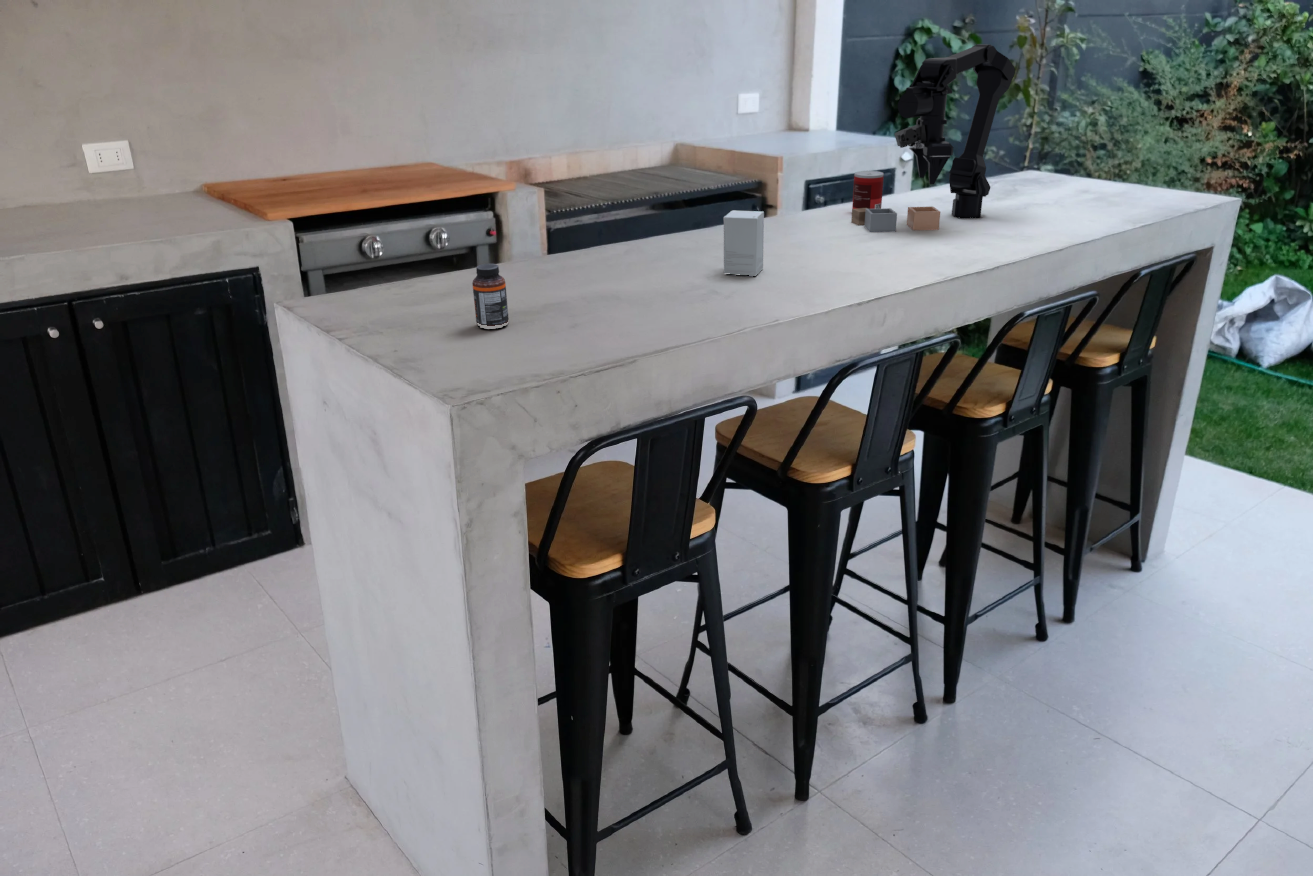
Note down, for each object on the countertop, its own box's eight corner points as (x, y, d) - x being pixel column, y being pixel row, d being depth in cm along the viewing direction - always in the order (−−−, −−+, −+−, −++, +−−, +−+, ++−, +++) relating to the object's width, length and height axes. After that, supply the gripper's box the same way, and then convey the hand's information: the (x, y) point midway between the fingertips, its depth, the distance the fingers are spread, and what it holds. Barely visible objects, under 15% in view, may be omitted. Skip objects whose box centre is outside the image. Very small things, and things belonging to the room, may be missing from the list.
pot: (931, 226, 252) (933, 206, 250) (938, 231, 246) (940, 211, 244) (906, 226, 252) (908, 207, 250) (912, 232, 246) (914, 212, 244)
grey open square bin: (889, 228, 251) (890, 208, 249) (895, 233, 245) (897, 213, 243) (864, 228, 251) (865, 208, 249) (869, 234, 245) (871, 214, 243)
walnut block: (865, 223, 256) (866, 207, 255) (872, 226, 253) (873, 210, 251) (851, 224, 255) (852, 208, 254) (858, 227, 252) (859, 211, 250)
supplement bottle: (477, 321, 185) (472, 262, 181) (509, 320, 186) (504, 261, 181) (475, 331, 180) (469, 270, 175) (508, 330, 180) (503, 269, 176)
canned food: (879, 211, 269) (882, 170, 265) (882, 217, 262) (885, 175, 258) (850, 211, 270) (853, 170, 266) (853, 217, 263) (855, 175, 258)
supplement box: (764, 268, 217) (765, 210, 211) (755, 277, 210) (757, 217, 205) (731, 266, 219) (732, 209, 214) (722, 275, 212) (722, 216, 207)
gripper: (890, 111, 246) (885, 175, 252) (909, 119, 229) (903, 188, 235) (934, 110, 246) (928, 174, 253) (957, 118, 229) (950, 187, 236)
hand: (926, 180), depth 244 cm, fingers open, 9 cm apart
